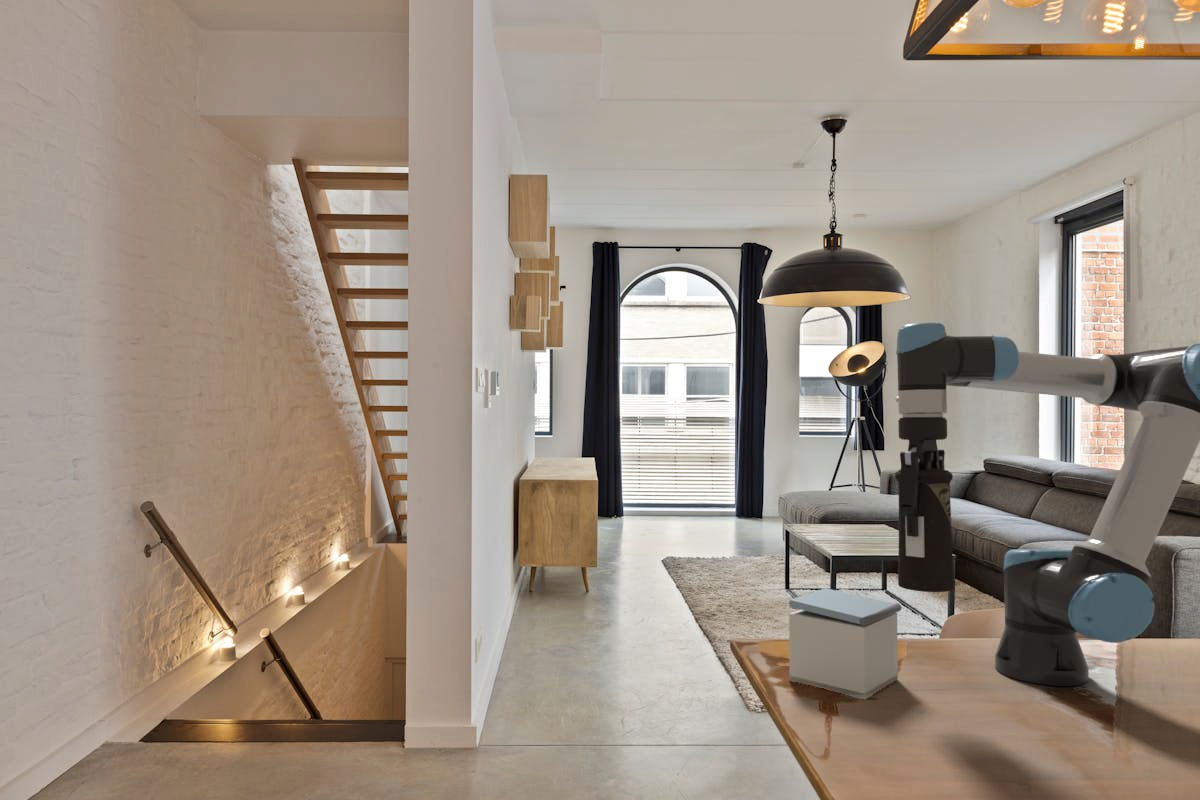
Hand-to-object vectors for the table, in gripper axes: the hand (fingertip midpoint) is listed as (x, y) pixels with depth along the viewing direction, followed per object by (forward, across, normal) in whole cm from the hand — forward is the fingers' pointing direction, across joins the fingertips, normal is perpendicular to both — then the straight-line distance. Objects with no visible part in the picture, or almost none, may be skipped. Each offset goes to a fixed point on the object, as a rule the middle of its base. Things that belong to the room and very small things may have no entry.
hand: (924, 552), depth 129 cm
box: (+25, -2, -15) cm, 29 cm away
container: (+6, 0, 0) cm, 6 cm away
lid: (+12, -2, -15) cm, 19 cm away
